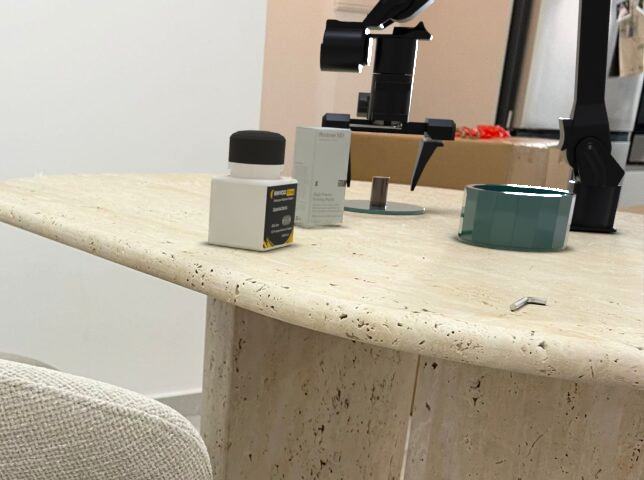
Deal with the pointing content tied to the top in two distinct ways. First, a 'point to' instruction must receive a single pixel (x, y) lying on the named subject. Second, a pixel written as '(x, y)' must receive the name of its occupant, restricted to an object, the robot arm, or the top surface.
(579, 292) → the top surface
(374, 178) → the lid
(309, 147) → the cosmetic box
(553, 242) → the tin
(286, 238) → the medicine bottle
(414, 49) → the robot arm
